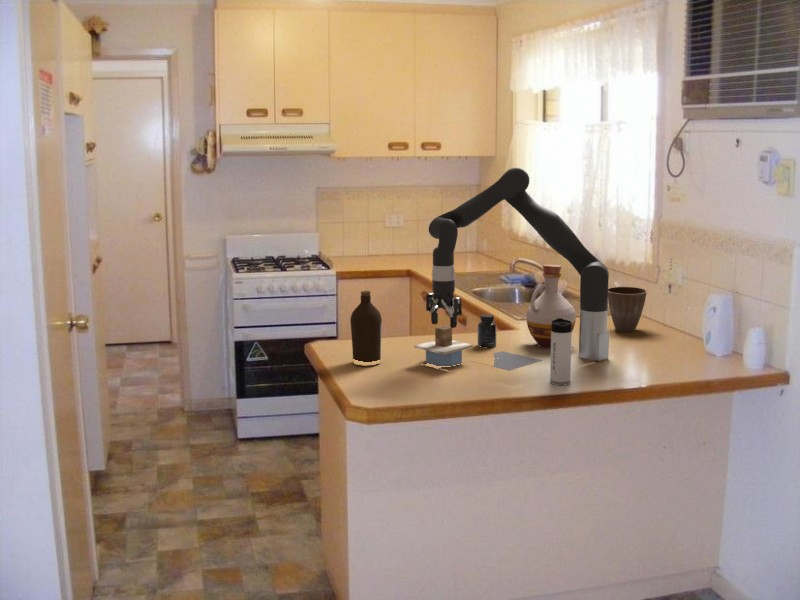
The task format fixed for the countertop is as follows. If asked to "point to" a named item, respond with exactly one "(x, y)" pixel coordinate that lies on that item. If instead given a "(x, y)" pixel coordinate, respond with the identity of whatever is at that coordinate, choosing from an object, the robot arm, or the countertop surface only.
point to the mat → (512, 360)
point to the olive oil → (366, 330)
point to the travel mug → (560, 351)
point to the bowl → (444, 358)
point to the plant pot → (626, 307)
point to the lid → (443, 342)
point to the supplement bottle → (487, 331)
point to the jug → (548, 307)
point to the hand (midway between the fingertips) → (443, 325)
